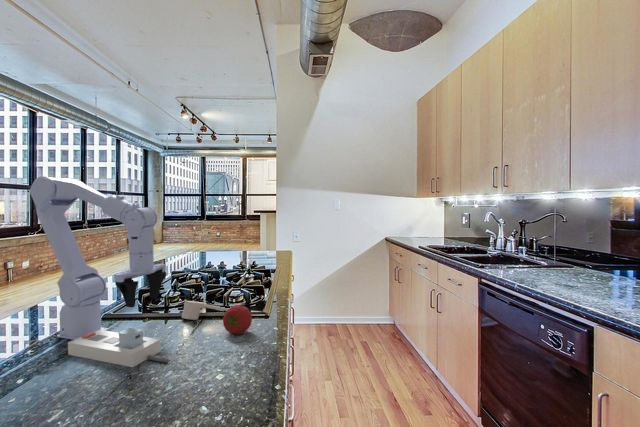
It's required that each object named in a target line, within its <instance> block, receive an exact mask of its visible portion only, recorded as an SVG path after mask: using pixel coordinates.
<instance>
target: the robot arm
mask: <svg viewBox="0 0 640 427" xmlns="http://www.w3.org/2000/svg"><path fill="white" fill-rule="evenodd" d="M28 192H29V194H30V196H31V198H32V201H33V203H34V206H35V210H36V216H37V218H38V220H39V222H40V224H41V227H42V230H43V232H44V234H45V237H46V238H47V240H48V242H49V245H50V248H51V249H52V251H53V253H54V255H55V257H56V260H57V262H58V264H59V267H60V269H61V271H62V273H63V274H62V275H61V277H60V278H59V279H58V281H57V284H56V285H57V286H58V288H59V298H60V301H61V302H62V303H63V304H64V305H63V306H61V308H60V311H59V330H60V331H59V333H58V334H57V335H56V337H57V338H61V339H67V340H71V341H73V340H75V339H78V338H80V337H82V336H83V335H85V334H88V333H90V332H95V331H98V330H105V331H109V330H110V328H109V327H104V326H103V327H102V320H101V319H102V315H101V299H102V295H103V294H105V292H106V290H107V282H106V280H105V278H104V277H103V276H102V275H100V273H99V272H98V269H97V268H94V267H93V266H90V265H88V264H87V262H86V260H85V257H84V255H83V252H82V250H81V248H80V246H79V244H78V242H77V240H76V237H75V235H74V232H73V231H72V229H71V227H70V226H71V225H69V222H68V220H67V218H66V216H65V214H66V212H67V211H68V210H69V209H70V208H71V207H72V206H73V204H75V202H76V201H77V200H78V199H79V200H81V201H83V202H86V203H89V204H92V205H94V206H97V207H99V208H101V212H102V213H103V214H104V215H105V216H107V217H110V218H112V219H114V220H116V221H118V222H121V223H123V225H124V227H125V228H126V230H127V236H128V244H129V245H128V252H129V253H128V255H129V256H128V257H129V260H128V261H129V269H127V270H124V271H121V272H119V273H115V274H114V282H115V286H116V287H117V288H118V289H119V291H120V293H121V295H122V297H123V300H124V302H125V306H126V307H127V308H135V306H136V294H137V293H136V292H137V288H138V285H139V284H138V283H139V281H135V280H134V279H136V278H139V277H143V276H145V277H146V279H147V282H148V291H149V293H148V294H149V298H150V299H153V300H154V299H155V300H156V299H159V293H160V291H161V287H162V285H163V282H164V280H165V279H166V277H167V272H166V263H158V264H157V263H156V264H154V263H155V261H154V260H155V259H154V226H156V224H157V222H158V215H157V213H156V211H155V210H153V209H152V208H151V207H147V206H145V207H141V206H140V204H139V203H137V202H132V201H129V200H127V199H125V196H123V195H120V194H117V195H114V194H113V195H109V196H107V195H106V194H104V193H102V192H100V191H98V190H96V189H95V188H92V187H91V186H89V185H87V184H85V183H84V182H83V181H80V180H77V179H75V178H62V177H48V176H44V175H43V176H38V177H37V178H35V180H33V182H32V184H31V187H30V189H29V191H28Z"/></svg>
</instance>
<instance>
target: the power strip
mask: <svg viewBox="0 0 640 427" xmlns="http://www.w3.org/2000/svg"><path fill="white" fill-rule="evenodd" d="M119 333H120V332H116V331H109V330H108V331H105V330H98V331H95V332H90V333H88V334H85V335H83V336H82V337H80V338H78V339H75V340H70V341H68V342H67V350H68V351H67V354H68V356H73V357H78V358H79V357H80V358H84V359H88V360H93V361H98V362H102V363H108V364H114V365H119V366H124V367H128V368H129V367H130V368H134V367H136V366H138V365H139V364H141V363H143V362H144V361H146V360H150V361H155V362H160V363H165V364H167V363H168V362H170V361H169V360H170V359H169V357H168V358H167V357H165V356H157V354H159V353H161V350H162V349H161V347H162V346H161V345H162V344H161V339H160V338H154V337H147V336H143V344H141V345H139V346H137V347H135V348H133V349H126V348H120V347H119Z"/></svg>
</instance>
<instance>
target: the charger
mask: <svg viewBox="0 0 640 427" xmlns="http://www.w3.org/2000/svg"><path fill="white" fill-rule="evenodd" d="M118 333H119V347H120V348H126V349H133V348H135V347H137V346H139V345H141V344H143V337H144V330H143V329H138V328H131V327H129V328H128V329H125V330H122V331H120V332H118Z"/></svg>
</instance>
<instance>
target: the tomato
mask: <svg viewBox="0 0 640 427" xmlns="http://www.w3.org/2000/svg"><path fill="white" fill-rule="evenodd" d="M252 317H253V316H252V313H251V311H250V309H249V308H248V307H246V306H245V305H240V304H239V305H238V304H236V305H235V304H234V305H232V306H230V308H229V309H228V310H227V311H225V312H224V314H223V318H222V323H223V327H224V329H225V331H227V332H228V333H229V334H231V335H238V336H239V335H242V334H244V333H245V332H247V331H248V329H249V328H250V327H251V325H252V321H253V318H252Z"/></svg>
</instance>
